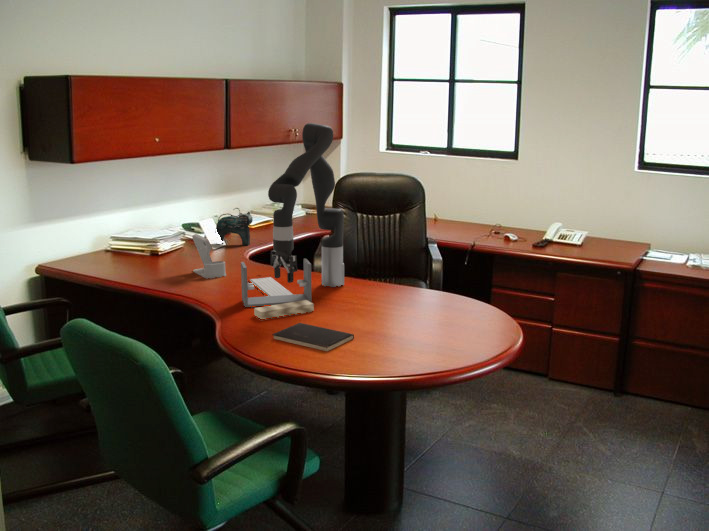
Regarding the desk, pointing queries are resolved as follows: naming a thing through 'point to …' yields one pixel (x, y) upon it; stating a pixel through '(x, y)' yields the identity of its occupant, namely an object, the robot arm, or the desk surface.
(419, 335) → the desk surface
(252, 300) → the shelf frame
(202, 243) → the phone holder
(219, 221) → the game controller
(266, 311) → the shelf board
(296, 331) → the hardcover book
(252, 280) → the baseboard
